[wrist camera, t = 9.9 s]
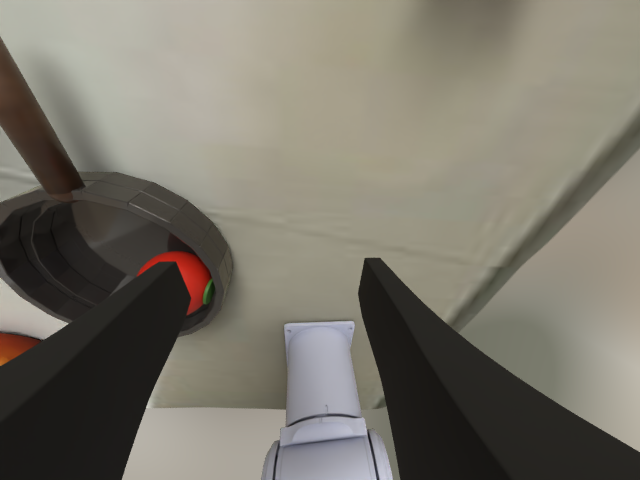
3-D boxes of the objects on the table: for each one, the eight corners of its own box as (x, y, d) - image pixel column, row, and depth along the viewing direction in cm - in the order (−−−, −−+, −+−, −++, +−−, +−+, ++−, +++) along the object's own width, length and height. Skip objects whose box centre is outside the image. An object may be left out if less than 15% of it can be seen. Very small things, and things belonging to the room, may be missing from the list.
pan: (244, 305, 24) (237, 336, 21) (97, 310, 23) (68, 343, 20) (213, 170, 16) (195, 191, 13) (-18, 167, 15) (-93, 189, 12)
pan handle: (99, 195, 14) (78, 208, 13) (70, 195, 14) (47, 208, 13) (-33, -44, 9) (-91, -65, 7) (-82, -47, 9) (-151, -69, 7)
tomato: (166, 270, 21) (224, 282, 22) (128, 323, 17) (199, 336, 18) (153, 230, 18) (223, 246, 18) (104, 286, 14) (192, 304, 15)
